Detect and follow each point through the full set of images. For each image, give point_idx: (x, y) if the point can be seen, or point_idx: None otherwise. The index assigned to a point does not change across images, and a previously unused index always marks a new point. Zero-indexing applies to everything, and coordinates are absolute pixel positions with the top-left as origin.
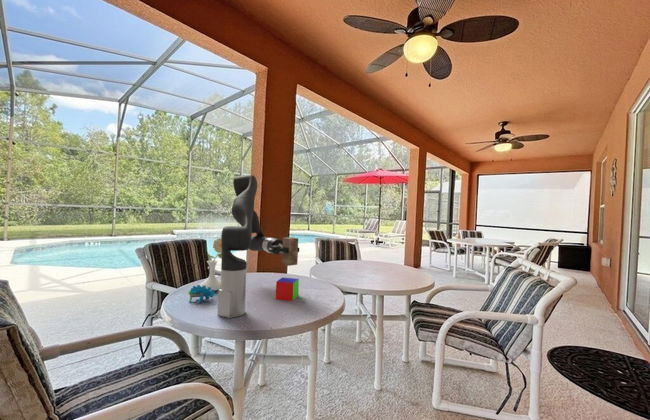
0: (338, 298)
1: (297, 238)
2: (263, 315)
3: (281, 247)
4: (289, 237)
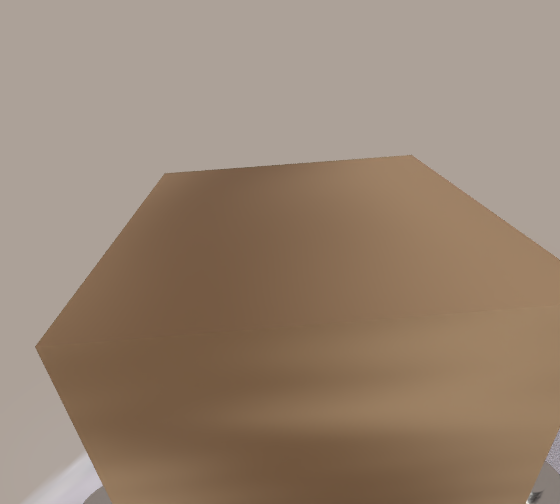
0: (77, 468)
1: (189, 173)
2: (554, 451)
3: (547, 468)
4: (241, 296)
